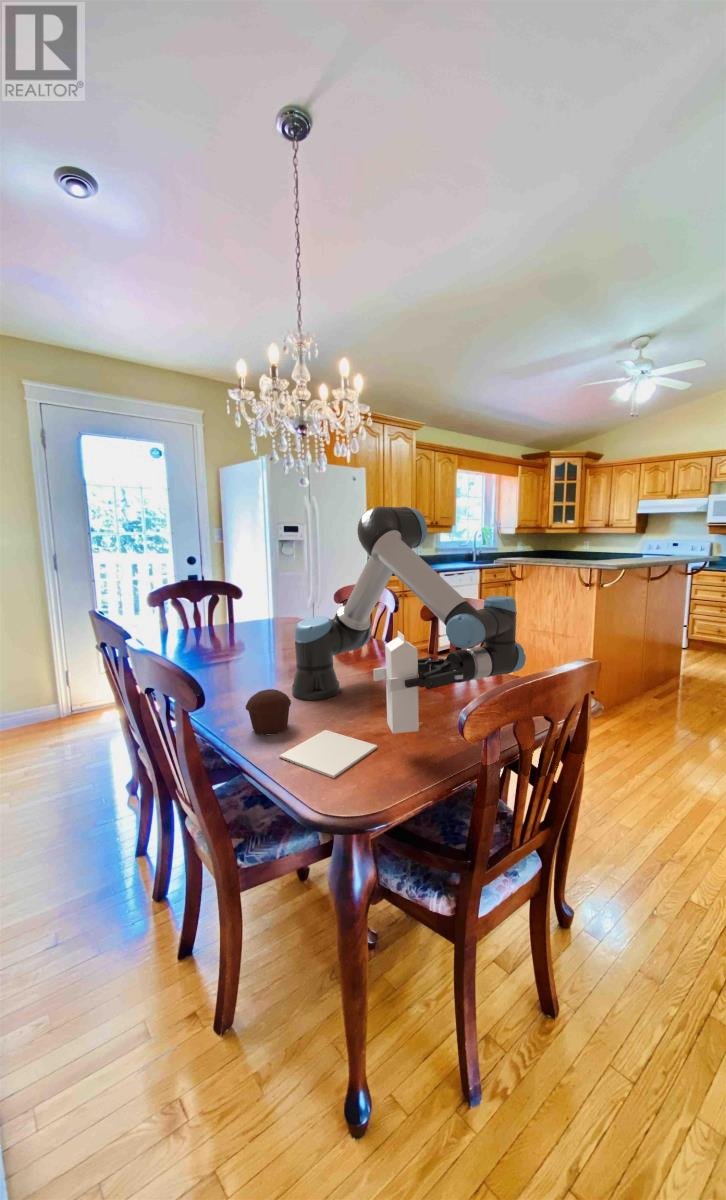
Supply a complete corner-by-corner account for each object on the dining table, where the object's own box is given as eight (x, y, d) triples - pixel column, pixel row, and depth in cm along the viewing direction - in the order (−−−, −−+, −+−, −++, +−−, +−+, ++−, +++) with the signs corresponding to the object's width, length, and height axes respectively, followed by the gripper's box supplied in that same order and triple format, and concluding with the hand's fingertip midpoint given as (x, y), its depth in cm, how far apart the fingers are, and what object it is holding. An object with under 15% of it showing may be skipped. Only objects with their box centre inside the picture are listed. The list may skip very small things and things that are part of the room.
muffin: (286, 716, 128) (284, 681, 126) (298, 731, 118) (296, 694, 117) (243, 725, 123) (240, 689, 122) (251, 741, 113) (248, 702, 112)
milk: (411, 720, 108) (410, 629, 105) (418, 731, 102) (418, 635, 99) (386, 723, 107) (384, 630, 104) (392, 734, 101) (390, 636, 98)
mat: (325, 732, 117) (325, 729, 117) (377, 747, 108) (377, 745, 108) (279, 757, 104) (279, 755, 104) (333, 778, 95) (333, 775, 95)
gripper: (495, 692, 102) (404, 711, 93) (443, 669, 120) (363, 683, 111) (495, 659, 101) (403, 676, 91) (443, 641, 119) (362, 652, 110)
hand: (381, 679), depth 101 cm, fingers closed on milk, 7 cm apart
